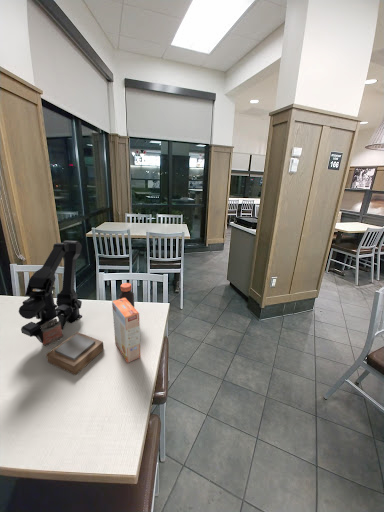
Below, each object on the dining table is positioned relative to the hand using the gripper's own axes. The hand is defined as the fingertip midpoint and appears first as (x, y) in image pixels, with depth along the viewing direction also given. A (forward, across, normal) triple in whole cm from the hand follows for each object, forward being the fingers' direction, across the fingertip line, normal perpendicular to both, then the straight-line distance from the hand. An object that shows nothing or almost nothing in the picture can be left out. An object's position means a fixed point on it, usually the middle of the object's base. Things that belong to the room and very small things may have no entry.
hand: (52, 335), depth 95 cm
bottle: (+3, -25, +20) cm, 32 cm away
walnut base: (+2, +2, +16) cm, 16 cm away
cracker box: (+3, -9, +32) cm, 33 cm away
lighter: (+3, 0, 0) cm, 3 cm away
